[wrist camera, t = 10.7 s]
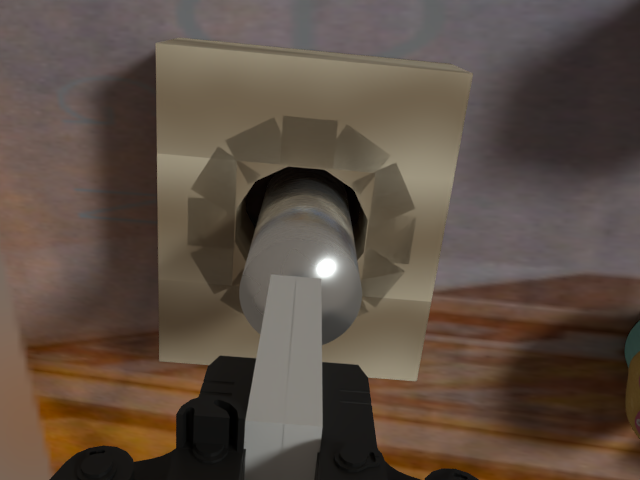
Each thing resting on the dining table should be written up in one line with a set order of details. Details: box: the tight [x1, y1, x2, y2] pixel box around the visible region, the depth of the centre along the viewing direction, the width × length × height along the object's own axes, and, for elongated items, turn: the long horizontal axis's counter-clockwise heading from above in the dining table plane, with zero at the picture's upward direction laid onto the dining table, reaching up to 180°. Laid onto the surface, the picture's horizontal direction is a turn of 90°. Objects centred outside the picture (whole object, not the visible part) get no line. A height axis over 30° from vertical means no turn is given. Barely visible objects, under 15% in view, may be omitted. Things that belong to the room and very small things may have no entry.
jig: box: [156, 38, 473, 381], centre depth 27 cm, size 14×12×4 cm
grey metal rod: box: [239, 166, 362, 345], centre depth 24 cm, size 4×4×10 cm
